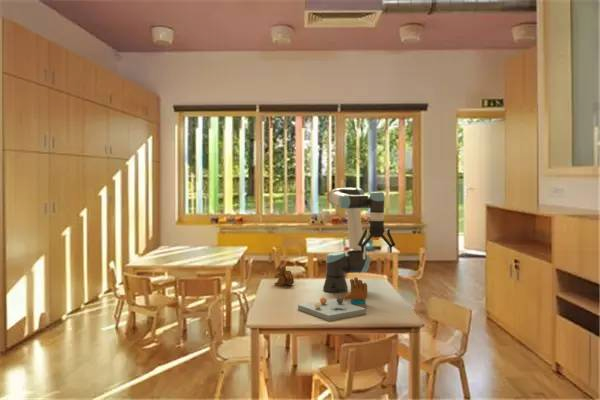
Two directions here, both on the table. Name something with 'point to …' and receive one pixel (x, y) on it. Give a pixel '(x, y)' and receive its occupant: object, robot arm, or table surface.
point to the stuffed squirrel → (284, 276)
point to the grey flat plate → (332, 310)
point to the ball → (323, 300)
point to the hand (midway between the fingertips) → (376, 259)
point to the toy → (357, 292)
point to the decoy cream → (317, 305)
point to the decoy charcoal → (339, 300)
